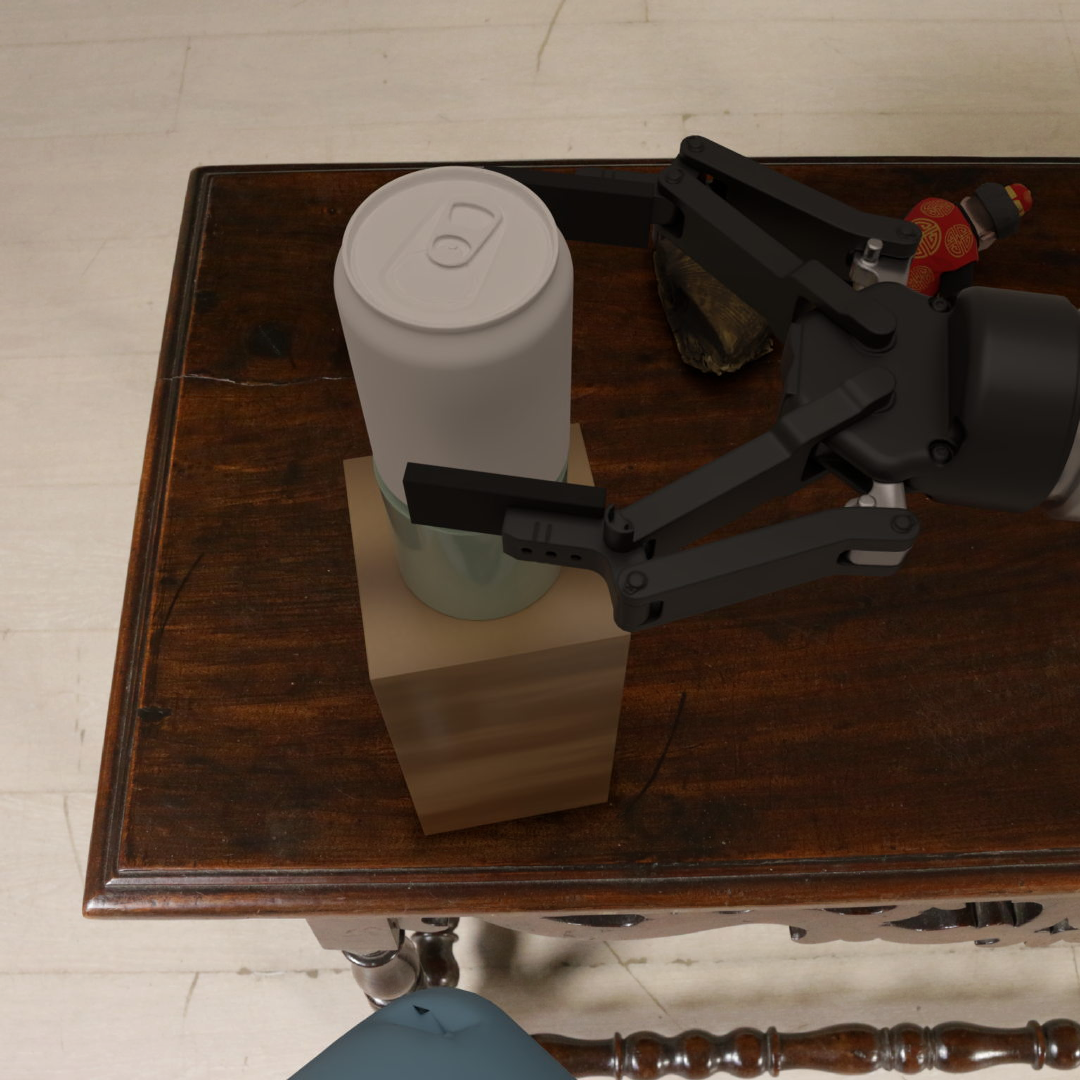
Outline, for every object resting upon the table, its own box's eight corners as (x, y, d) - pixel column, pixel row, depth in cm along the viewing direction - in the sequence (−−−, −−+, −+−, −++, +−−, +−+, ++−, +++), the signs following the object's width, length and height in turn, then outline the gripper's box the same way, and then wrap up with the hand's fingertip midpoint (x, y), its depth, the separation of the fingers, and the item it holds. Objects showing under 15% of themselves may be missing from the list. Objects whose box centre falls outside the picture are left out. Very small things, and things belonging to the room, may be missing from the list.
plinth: (607, 802, 76) (631, 634, 53) (424, 836, 75) (369, 679, 52) (571, 636, 82) (579, 422, 59) (401, 666, 81) (342, 459, 58)
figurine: (894, 372, 98) (1066, 275, 93) (873, 331, 89) (1061, 221, 85) (842, 284, 101) (1006, 186, 97) (817, 236, 93) (994, 126, 88)
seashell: (623, 253, 99) (647, 188, 93) (719, 251, 101) (748, 188, 96) (681, 404, 90) (710, 343, 85) (783, 398, 93) (819, 339, 87)
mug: (582, 604, 54) (586, 516, 47) (406, 634, 53) (384, 549, 46) (536, 404, 60) (534, 298, 52) (377, 429, 59) (353, 325, 52)
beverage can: (340, 491, 48) (280, 293, 37) (427, 347, 51) (396, 129, 41) (521, 560, 46) (512, 373, 35) (598, 406, 50) (611, 195, 39)
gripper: (1074, 74, 43) (506, 18, 45) (1132, 705, 31) (351, 593, 33) (1005, 222, 49) (512, 169, 51) (1030, 790, 37) (385, 694, 39)
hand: (448, 334), depth 42 cm, fingers open, 13 cm apart
